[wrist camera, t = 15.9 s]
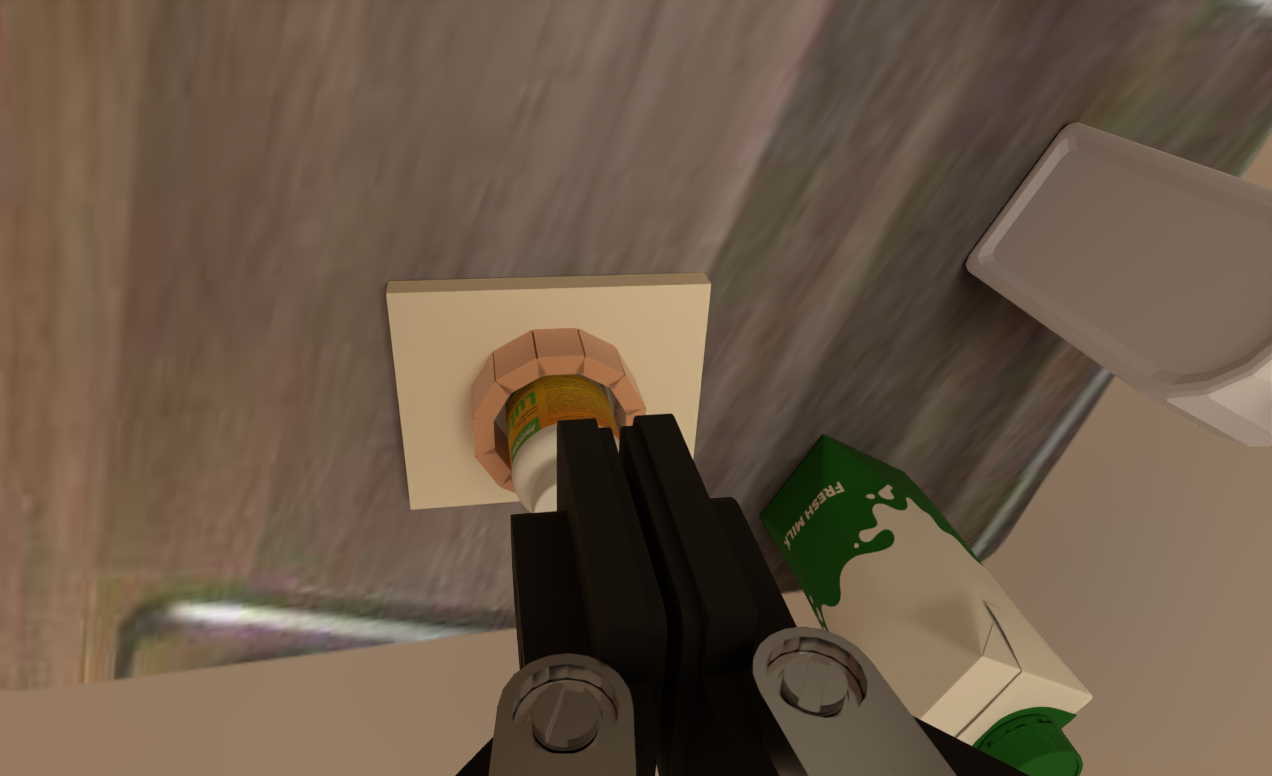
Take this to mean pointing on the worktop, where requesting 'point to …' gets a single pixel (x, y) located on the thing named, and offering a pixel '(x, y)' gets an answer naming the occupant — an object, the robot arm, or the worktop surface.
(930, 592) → the milk carton
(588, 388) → the supplement bottle
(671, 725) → the robot arm
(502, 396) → the bottle collar
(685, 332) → the coaster board
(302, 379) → the worktop surface
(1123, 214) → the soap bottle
